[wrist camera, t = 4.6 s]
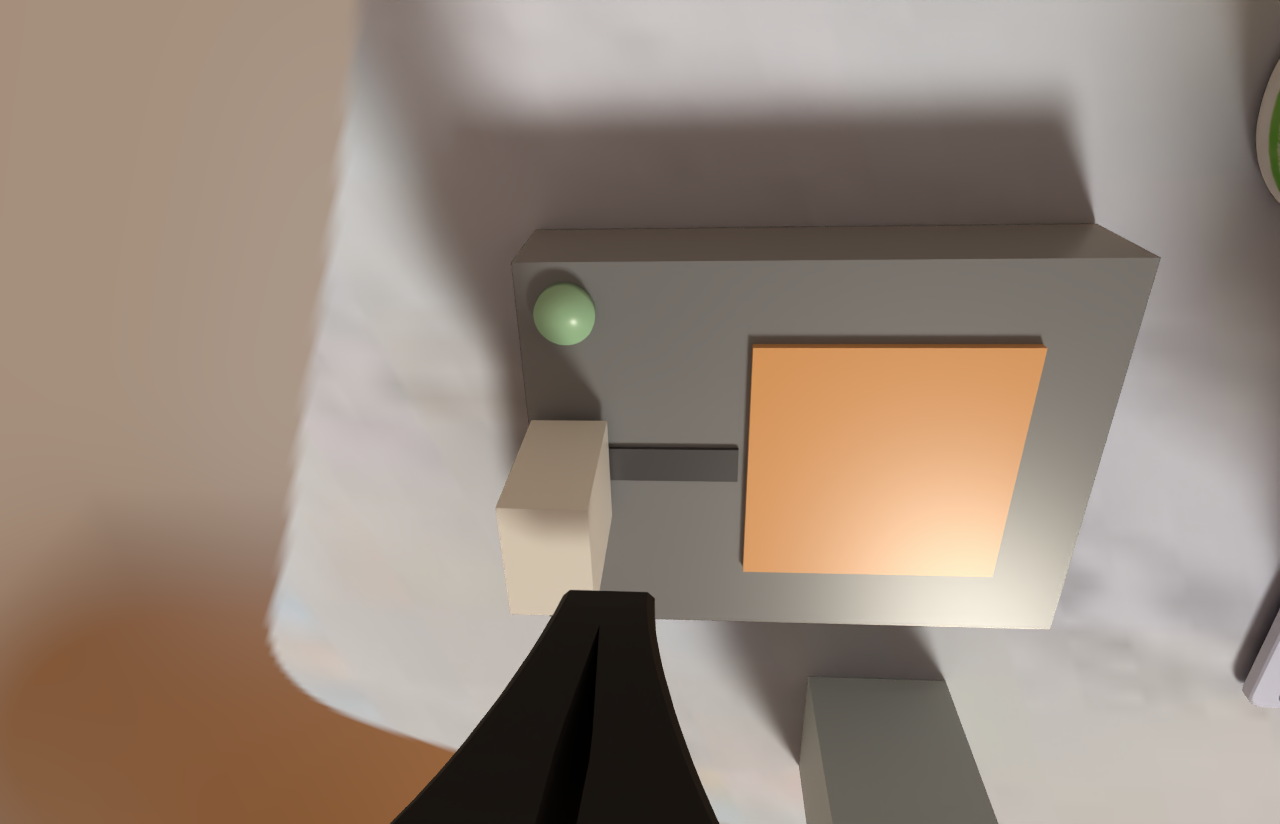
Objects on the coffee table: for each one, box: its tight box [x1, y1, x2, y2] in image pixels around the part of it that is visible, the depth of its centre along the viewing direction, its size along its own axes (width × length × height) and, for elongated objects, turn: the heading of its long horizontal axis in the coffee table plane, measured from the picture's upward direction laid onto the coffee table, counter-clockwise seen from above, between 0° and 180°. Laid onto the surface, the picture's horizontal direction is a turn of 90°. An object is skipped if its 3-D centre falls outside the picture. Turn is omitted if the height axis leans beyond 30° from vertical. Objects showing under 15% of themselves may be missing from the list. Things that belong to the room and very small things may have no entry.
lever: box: [496, 420, 612, 615], centre depth 15 cm, size 2×2×3 cm
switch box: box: [511, 224, 1161, 629], centre depth 17 cm, size 12×9×3 cm
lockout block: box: [799, 677, 998, 824], centre depth 21 cm, size 4×4×6 cm
